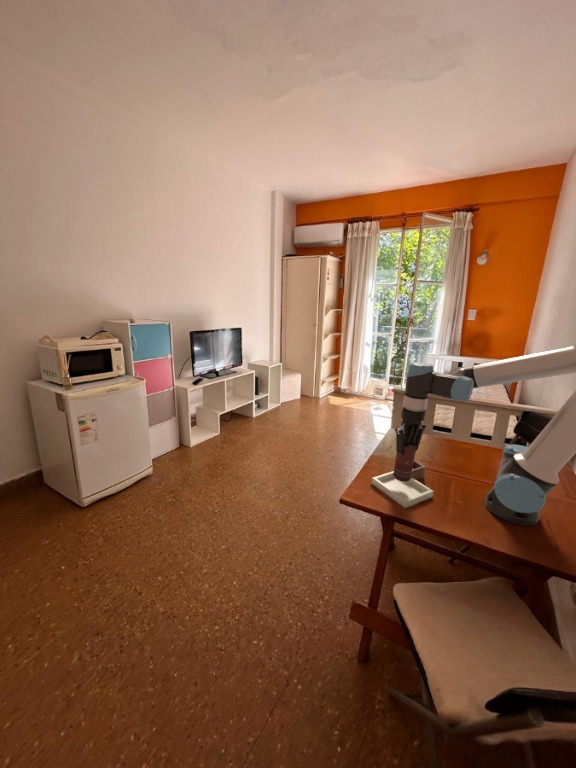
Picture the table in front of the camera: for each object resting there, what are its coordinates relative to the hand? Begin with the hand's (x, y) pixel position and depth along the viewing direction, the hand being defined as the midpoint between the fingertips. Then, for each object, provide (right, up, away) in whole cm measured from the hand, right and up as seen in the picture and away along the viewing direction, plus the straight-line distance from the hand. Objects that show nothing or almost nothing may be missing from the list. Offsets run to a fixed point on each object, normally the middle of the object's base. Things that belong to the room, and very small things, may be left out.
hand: (404, 469), depth 114 cm
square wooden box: (+6, -6, +13) cm, 15 cm away
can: (0, -4, +2) cm, 4 cm away
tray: (0, -8, +2) cm, 9 cm away
